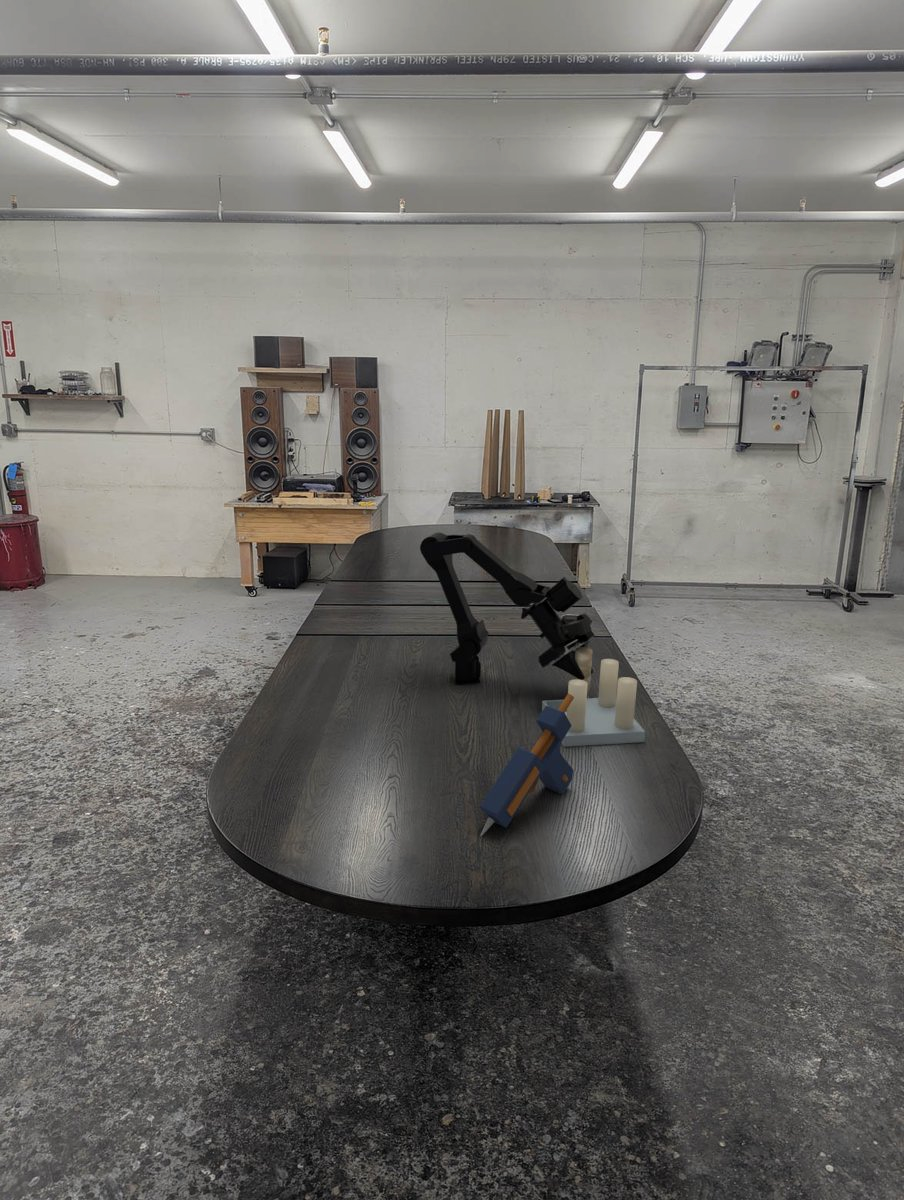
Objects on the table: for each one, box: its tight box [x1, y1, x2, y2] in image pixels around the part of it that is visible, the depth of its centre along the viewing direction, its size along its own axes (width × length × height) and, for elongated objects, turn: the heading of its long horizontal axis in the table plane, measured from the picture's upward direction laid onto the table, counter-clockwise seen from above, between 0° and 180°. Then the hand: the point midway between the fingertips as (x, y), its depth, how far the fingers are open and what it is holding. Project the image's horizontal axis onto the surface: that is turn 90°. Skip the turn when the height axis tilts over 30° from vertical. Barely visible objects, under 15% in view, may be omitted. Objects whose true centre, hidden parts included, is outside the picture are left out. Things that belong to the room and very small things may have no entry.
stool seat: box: [541, 658, 646, 748], centre depth 165 cm, size 18×18×13 cm
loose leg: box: [573, 647, 593, 698], centre depth 177 cm, size 4×4×13 cm
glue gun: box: [479, 693, 574, 837], centre depth 135 cm, size 6×31×15 cm
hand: (587, 676), depth 176 cm, fingers closed on loose leg, 4 cm apart
